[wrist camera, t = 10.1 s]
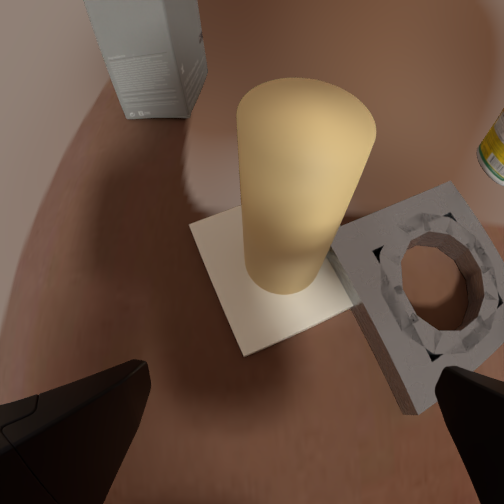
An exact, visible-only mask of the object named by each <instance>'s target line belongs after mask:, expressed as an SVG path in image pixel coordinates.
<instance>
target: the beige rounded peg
mask: <svg viewBox="0 0 504 504" xmlns="http://www.w3.org/2000/svg"><path fill="white" fill-rule="evenodd" d="M236 117H237V118H236V119H237V138H238V155H239V174H240V191H241V208H242V225H243V242H244V258H245V266H246V270H247V272H248V274H249V276H250V278H251V279H252V280H253V281H254V283H256V284H257V285H258V286H259V287H260V288H262V289H264V290H266V291H268V292H270V293H274V294H280V295H288V294H294V293H297V292H300V291H302V290H304V289H305V288H307V287H308V286H309V285H310V284H311V283H312V282H313V281H314V279H315V278H316V276H317V274H318V272H319V270H320V268H321V266H322V264H323V261H324V259H325V257H326V255H327V253H328V251H329V248H330V246H331V244H332V242H333V240H334V237H335V235H336V233H337V231H338V228H339V226H340V224H341V222H342V219H343V217H344V215H345V212H346V210H347V208H348V205H349V203H350V201H351V198H352V196H353V194H354V191H355V189H356V186H357V184H358V182H359V179H360V177H361V174H362V172H363V169H364V167H365V164H366V162H367V159H368V157H369V154H370V152H371V149H372V147H373V144H374V142H375V138H376V126H375V122H374V119H373V117H372V115H371V114H370V112H369V110H368V109H367V108H366V106H364V104H362V102H361V101H359V100H358V99H357V98H356V97H355V96H353V95H352V94H350V93H349V92H347V91H345V90H343V89H342V88H339V87H337V86H335V85H332V84H329V83H327V82H323V81H320V80H314V79H308V78H282V79H276V80H272V81H268V82H265V83H263V84H260V85H258V86H256V87H255V88H253V89H252V90H250V91H249V92H248V93H247V94H246V95H245V96H244V97H243V98H242V100H241V101H240V103H239V105H238V108H237V113H236Z"/></svg>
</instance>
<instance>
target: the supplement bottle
mask: <svg viewBox="0 0 504 504" xmlns="http://www.w3.org/2000/svg"><path fill="white" fill-rule="evenodd" d="M477 158H478V161H479V164H480V166H481V167H482V169H483V170H484V172H485V173H486V174H487V175H488V176H489V177H490V178H491V179H492V180H493V181H495V182H496V183H498V184H500V185H502V186H504V108H503V110H502V112H501V113H500V115H499V116H498V118H497V120H496V121H495V123H494V124H493V126H492V127H491V129H490V130H489V132H488V133H487V135H486V136H485V138H484V139H483V141H482V142H481V144H480V145H479V147H478V149H477Z"/></svg>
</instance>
